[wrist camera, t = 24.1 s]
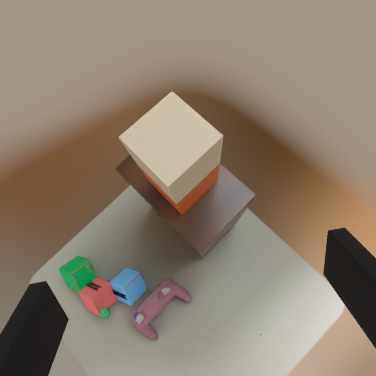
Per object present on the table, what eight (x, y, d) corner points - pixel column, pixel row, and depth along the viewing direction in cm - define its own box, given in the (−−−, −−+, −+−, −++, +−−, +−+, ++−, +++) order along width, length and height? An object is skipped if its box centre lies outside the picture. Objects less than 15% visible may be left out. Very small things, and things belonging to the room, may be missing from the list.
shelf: (235, 223, 50) (256, 194, 29) (202, 258, 49) (199, 254, 28) (184, 176, 54) (169, 118, 32) (152, 207, 52) (114, 168, 31)
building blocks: (110, 275, 54) (149, 290, 46) (75, 304, 48) (112, 327, 40) (95, 243, 51) (133, 252, 43) (56, 269, 46) (91, 286, 38)
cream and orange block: (217, 181, 30) (223, 135, 19) (182, 215, 29) (167, 187, 18) (183, 149, 31) (171, 90, 21) (148, 181, 30) (118, 137, 20)
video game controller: (180, 281, 49) (163, 270, 44) (195, 299, 46) (179, 289, 41) (142, 322, 48) (120, 316, 43) (156, 344, 45) (134, 339, 40)
